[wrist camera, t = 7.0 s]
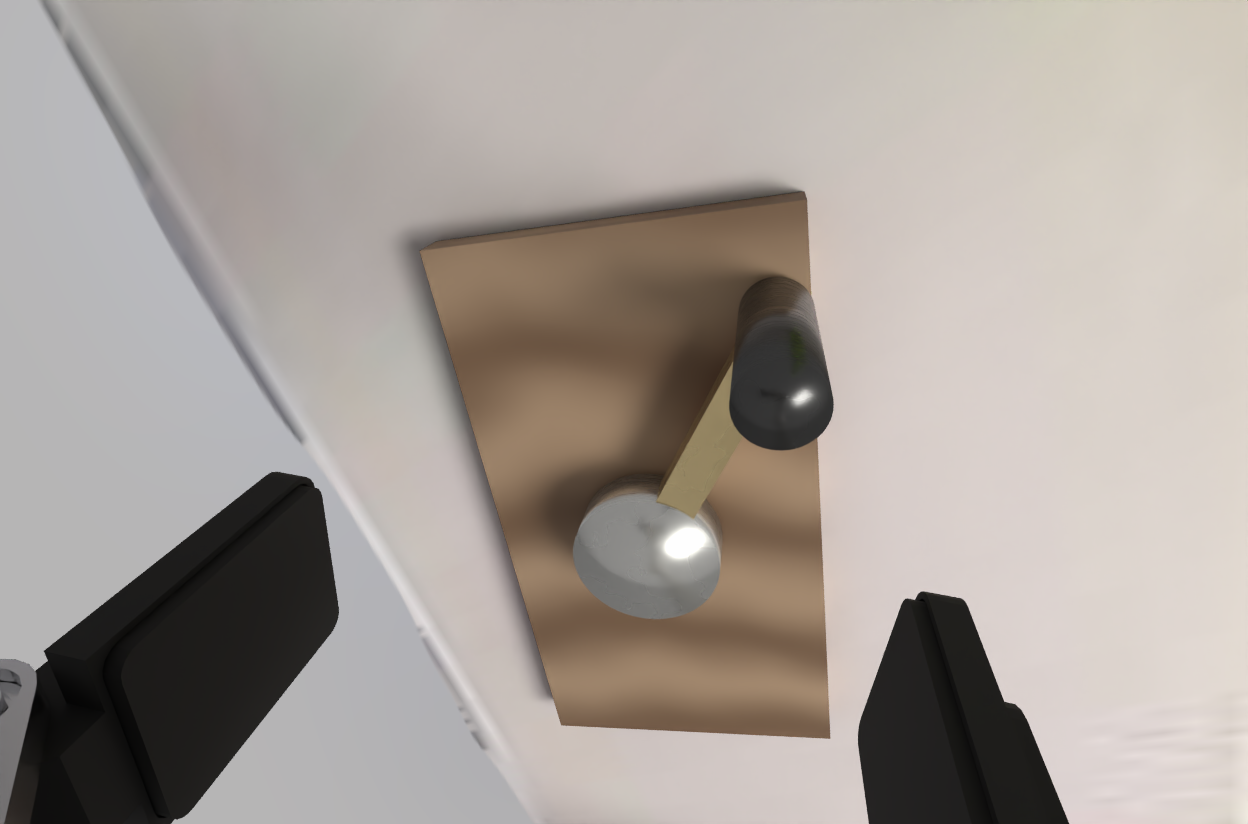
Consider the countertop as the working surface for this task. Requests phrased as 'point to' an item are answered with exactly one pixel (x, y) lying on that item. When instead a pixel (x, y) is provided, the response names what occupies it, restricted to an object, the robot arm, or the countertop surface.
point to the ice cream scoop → (708, 462)
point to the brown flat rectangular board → (641, 455)
